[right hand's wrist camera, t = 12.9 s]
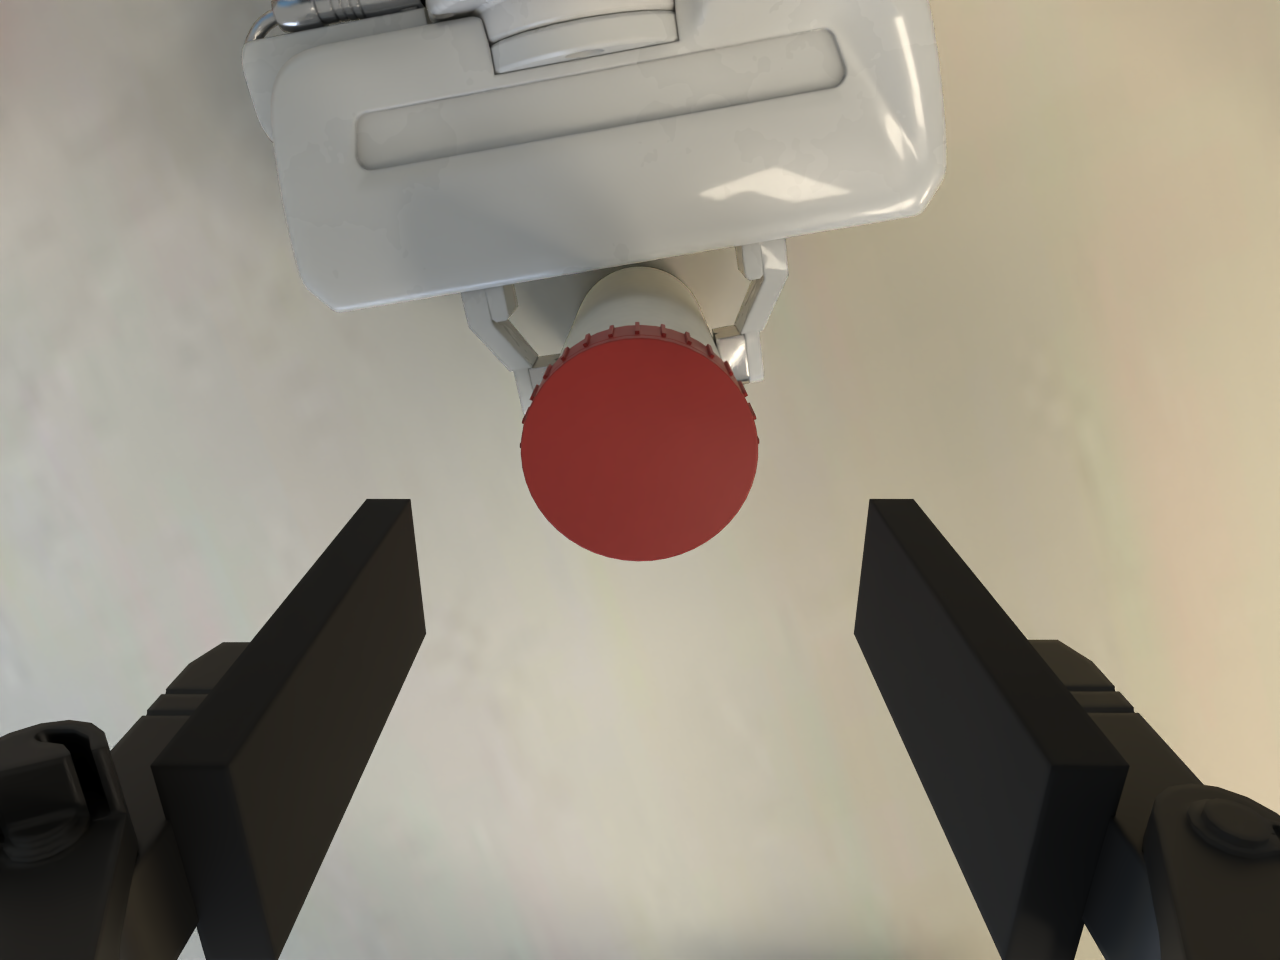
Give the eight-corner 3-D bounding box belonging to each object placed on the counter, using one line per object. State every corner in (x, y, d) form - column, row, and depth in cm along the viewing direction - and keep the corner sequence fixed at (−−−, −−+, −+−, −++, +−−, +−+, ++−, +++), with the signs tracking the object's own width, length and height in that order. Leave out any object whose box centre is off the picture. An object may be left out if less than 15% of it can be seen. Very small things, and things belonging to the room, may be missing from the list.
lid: (686, 277, 20) (691, 286, 18) (790, 475, 22) (801, 499, 20) (483, 391, 21) (470, 410, 19) (598, 570, 23) (595, 600, 21)
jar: (665, 241, 32) (685, 300, 19) (726, 357, 34) (784, 489, 20) (551, 307, 33) (488, 409, 20) (615, 415, 35) (600, 580, 21)
